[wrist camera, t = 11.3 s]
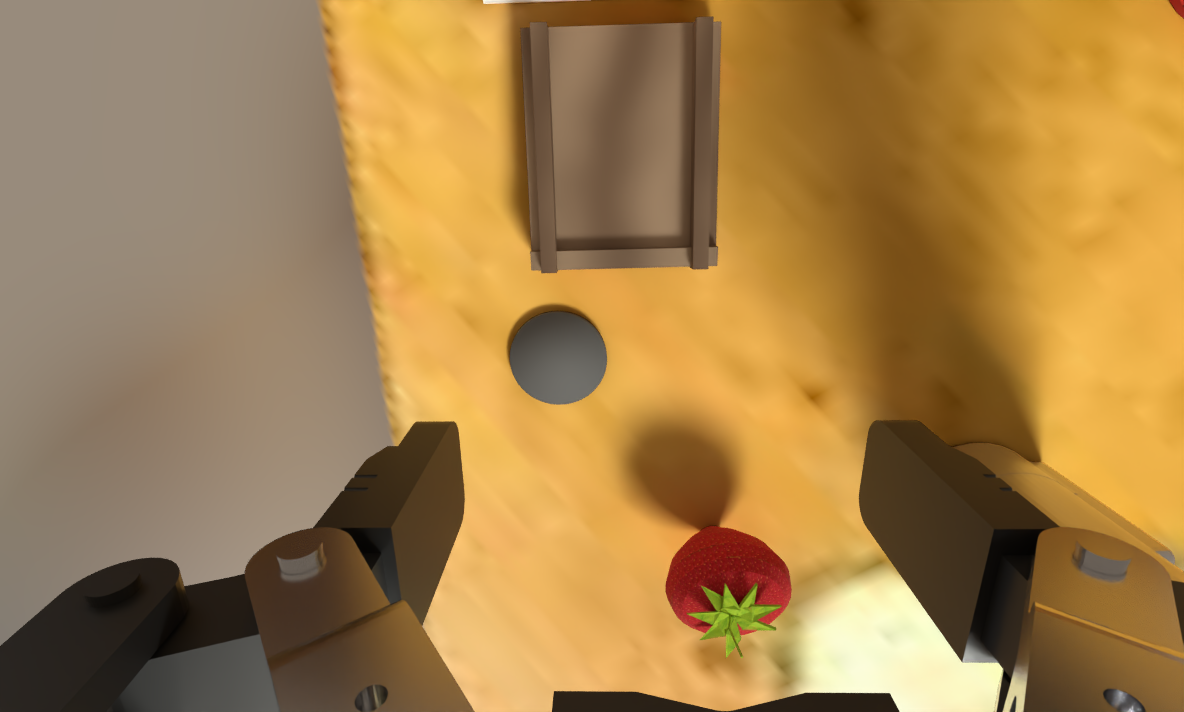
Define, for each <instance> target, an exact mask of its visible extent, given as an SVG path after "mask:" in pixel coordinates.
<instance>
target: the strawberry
mask: <svg viewBox="0 0 1184 712" xmlns="http://www.w3.org/2000/svg"><path fill="white" fill-rule="evenodd" d="M666 595H667V598H668V601H669V603H670V605H671V607H672V609H673V611H674V612H675V614H676V616H677V617H678V618H679V619H680V620H681V621H682V622H683V623H684V624H686V625H688V626H690V627H691V628H693V629H696V630H699V631H701V632H704V633H705V635H704V636H703V637H702V638H701V639H700V640H704V639H710V638H717V637H723V636H726V658H727V657H728V655H729V654H730V653H731V652H732V650H733V649H734V648H735V647H737V650H738V652H739V654H740V656H741V658H743V655H742V653H741V651H740V649H739V646H738V643H739V641H740V640H741V636H740V635H745V634H748V633H752V632H755V631H757V630H776V628H775V627H773V626H771V625H768V624H770V623H771V622H772V621H773V620H775V619H776V618H777V617H778V616H779V615H780V614H781V613H782V612H783V611H784V609H785V608H786V607H787V605H788V603H789V601H790V598H791V582H790V575H789V570H788V568H787V566H786V564H785V563H784V561H783V560H782V559H781V558H780V557H779V556H778V555H777V554H776V553H774V552H773V551H772V550H771V549H770V548H769V547H768V546H767V545H766V544H765V543H764V542H762V541H761V540H759V539H758V538H756V537H753V536H751V535H748V534H745V533H742V532H739V531H736V530H734V529H729V528H721V527H718V526H708V527H705V528H704V529H702V530H701V531H700V532H698V533H697V534H695V535H694V536H692V537H691V538H690V539H689V540H688V541H687V542H686V543H685V544H684V545H683V546H682V547H681V549H680V550H679V551H678V552H677V553H676V554H675V556H674V558H673V559H672V562H671V565H670V569H669V573H668V577H667V581H666Z"/></svg>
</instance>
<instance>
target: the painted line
mask: <svg viewBox="0 0 1184 712" xmlns="http://www.w3.org/2000/svg"><path fill="white" fill-rule="evenodd" d="M558 1H589V0H483V3H484V4H497V3H528V2H558Z"/></svg>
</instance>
